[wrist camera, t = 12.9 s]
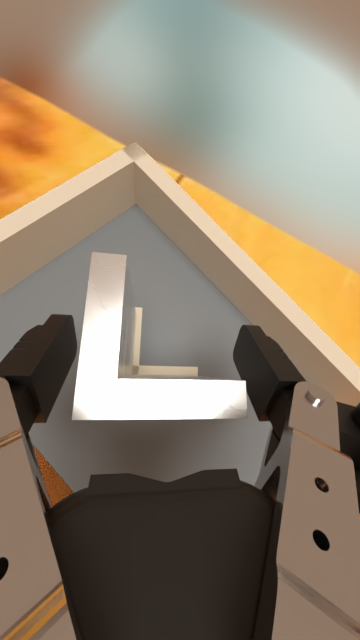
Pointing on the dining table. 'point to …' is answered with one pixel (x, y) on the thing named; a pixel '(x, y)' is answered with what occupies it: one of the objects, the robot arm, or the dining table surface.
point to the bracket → (118, 355)
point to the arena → (153, 317)
